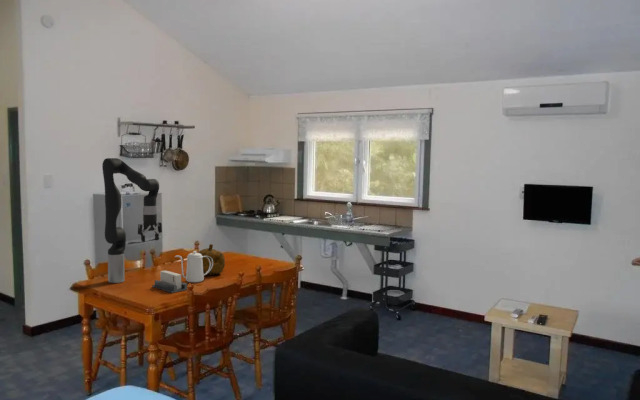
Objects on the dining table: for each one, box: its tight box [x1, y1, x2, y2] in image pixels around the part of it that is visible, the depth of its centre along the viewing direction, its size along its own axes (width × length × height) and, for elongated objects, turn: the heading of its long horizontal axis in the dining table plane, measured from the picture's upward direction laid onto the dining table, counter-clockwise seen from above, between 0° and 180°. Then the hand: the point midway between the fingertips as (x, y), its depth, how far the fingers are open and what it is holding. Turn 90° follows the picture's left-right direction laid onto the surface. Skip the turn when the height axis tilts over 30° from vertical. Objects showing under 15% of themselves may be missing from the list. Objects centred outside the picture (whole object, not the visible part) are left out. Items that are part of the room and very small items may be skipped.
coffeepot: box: [174, 250, 213, 283], centre depth 323 cm, size 11×25×19 cm, turn 126°
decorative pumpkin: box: [197, 243, 226, 276], centre depth 344 cm, size 20×21×20 cm
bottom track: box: [152, 279, 189, 294], centre depth 305 cm, size 20×12×4 cm, turn 50°
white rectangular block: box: [159, 269, 182, 289], centre depth 305 cm, size 16×4×8 cm, turn 49°
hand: (150, 241), depth 303 cm, fingers open, 8 cm apart
